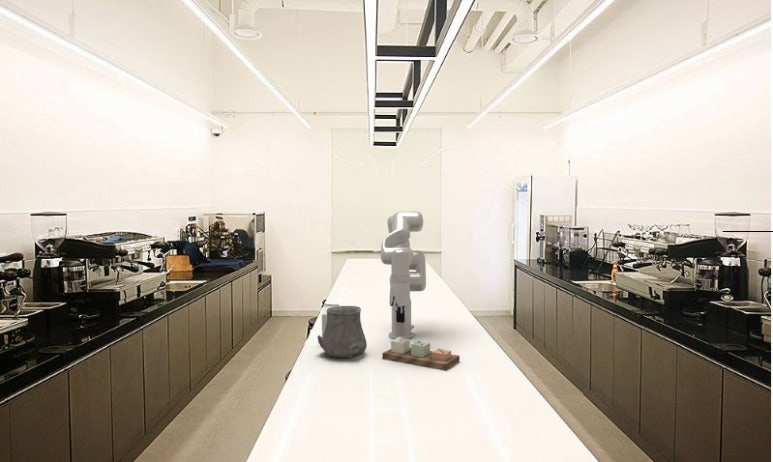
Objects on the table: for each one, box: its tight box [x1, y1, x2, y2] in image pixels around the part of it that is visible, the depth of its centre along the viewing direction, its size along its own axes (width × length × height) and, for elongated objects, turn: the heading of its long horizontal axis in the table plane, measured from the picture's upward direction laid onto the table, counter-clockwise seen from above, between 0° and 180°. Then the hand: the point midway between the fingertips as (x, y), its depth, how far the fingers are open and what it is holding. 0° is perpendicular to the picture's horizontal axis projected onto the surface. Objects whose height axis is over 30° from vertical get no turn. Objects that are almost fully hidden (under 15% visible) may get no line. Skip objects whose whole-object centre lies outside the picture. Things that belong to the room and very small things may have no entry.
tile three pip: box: [432, 348, 452, 362], centre depth 203 cm, size 6×6×5 cm
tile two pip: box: [410, 340, 431, 358], centre depth 208 cm, size 6×6×5 cm
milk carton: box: [321, 303, 340, 337], centre depth 230 cm, size 7×7×19 cm
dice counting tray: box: [381, 347, 461, 372], centre depth 208 cm, size 29×13×2 cm, turn 59°
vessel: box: [317, 305, 368, 359], centre depth 215 cm, size 22×22×20 cm
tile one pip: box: [390, 338, 411, 354], centre depth 213 cm, size 6×6×5 cm
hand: (400, 322), depth 212 cm, fingers closed
